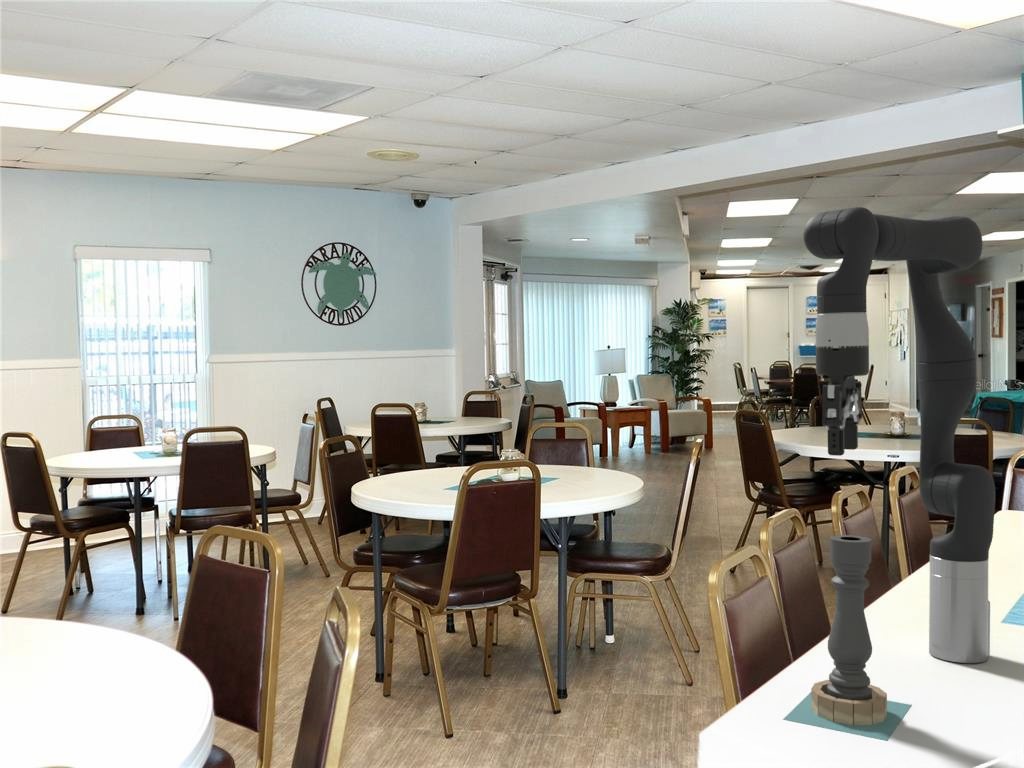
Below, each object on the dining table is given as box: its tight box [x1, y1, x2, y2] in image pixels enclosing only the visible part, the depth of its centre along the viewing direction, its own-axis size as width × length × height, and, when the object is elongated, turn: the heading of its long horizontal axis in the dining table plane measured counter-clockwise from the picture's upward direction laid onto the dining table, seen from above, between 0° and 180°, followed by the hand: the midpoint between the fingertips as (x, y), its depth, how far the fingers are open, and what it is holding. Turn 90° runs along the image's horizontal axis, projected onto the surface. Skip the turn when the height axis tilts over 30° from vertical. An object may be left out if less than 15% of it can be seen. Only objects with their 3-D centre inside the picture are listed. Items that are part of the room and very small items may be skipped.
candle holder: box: [827, 534, 873, 701], centre depth 138 cm, size 6×6×25 cm
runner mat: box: [782, 691, 913, 742], centre depth 139 cm, size 16×14×1 cm
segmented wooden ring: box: [810, 679, 888, 725], centre depth 139 cm, size 10×10×3 cm
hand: (843, 452), depth 144 cm, fingers open, 8 cm apart
